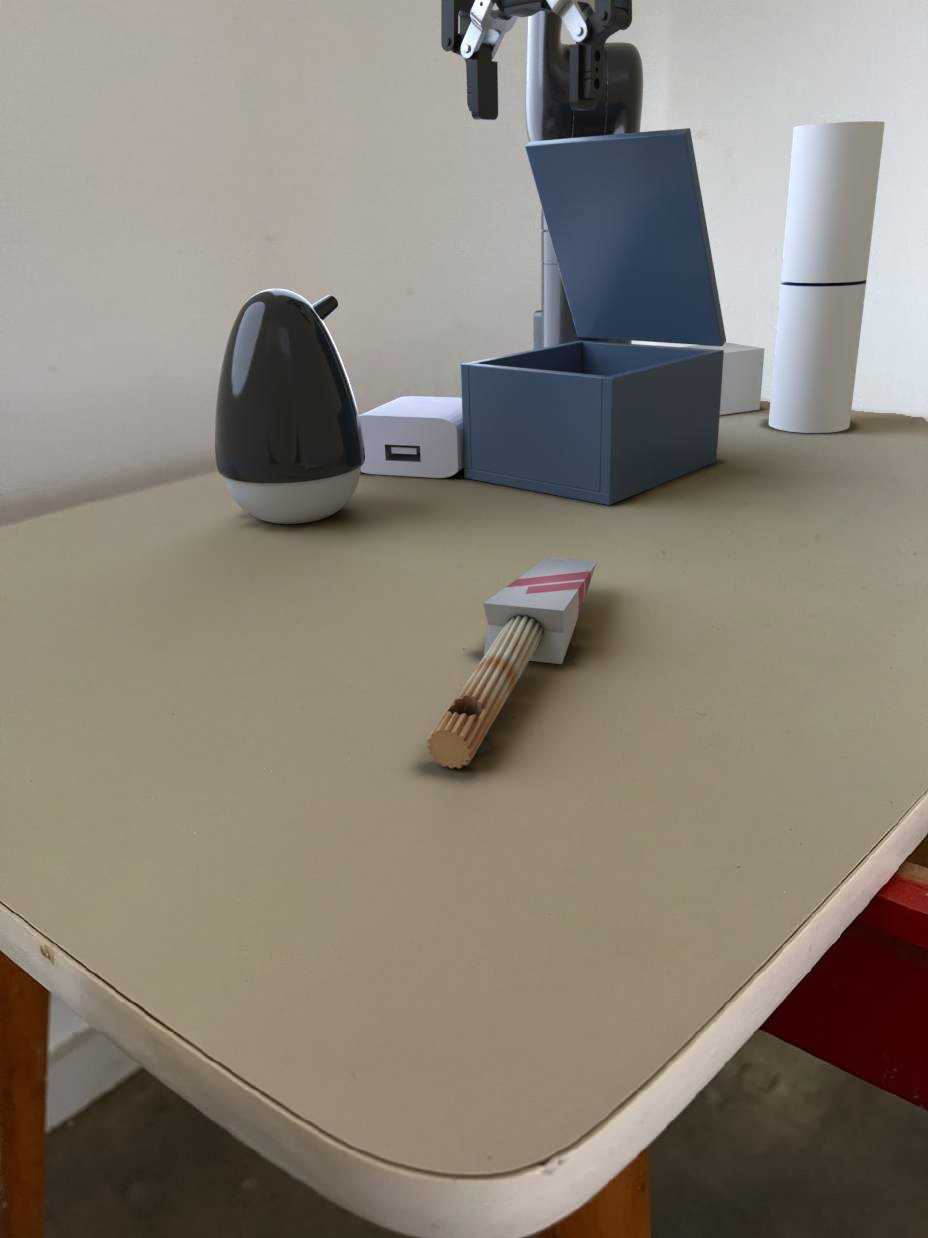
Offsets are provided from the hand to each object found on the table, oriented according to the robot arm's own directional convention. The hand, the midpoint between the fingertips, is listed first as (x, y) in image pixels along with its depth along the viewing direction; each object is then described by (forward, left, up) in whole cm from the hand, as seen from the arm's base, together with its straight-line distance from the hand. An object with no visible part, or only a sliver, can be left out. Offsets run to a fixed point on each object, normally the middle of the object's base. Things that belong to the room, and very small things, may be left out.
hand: (532, 114), depth 69 cm
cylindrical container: (+10, +29, -26) cm, 40 cm away
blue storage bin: (+3, +4, -25) cm, 26 cm away
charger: (-11, +1, -26) cm, 28 cm away
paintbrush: (+21, -28, -26) cm, 43 cm away
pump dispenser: (-7, -18, -26) cm, 32 cm away
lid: (+3, +8, -9) cm, 12 cm away
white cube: (-1, +32, -26) cm, 41 cm away
